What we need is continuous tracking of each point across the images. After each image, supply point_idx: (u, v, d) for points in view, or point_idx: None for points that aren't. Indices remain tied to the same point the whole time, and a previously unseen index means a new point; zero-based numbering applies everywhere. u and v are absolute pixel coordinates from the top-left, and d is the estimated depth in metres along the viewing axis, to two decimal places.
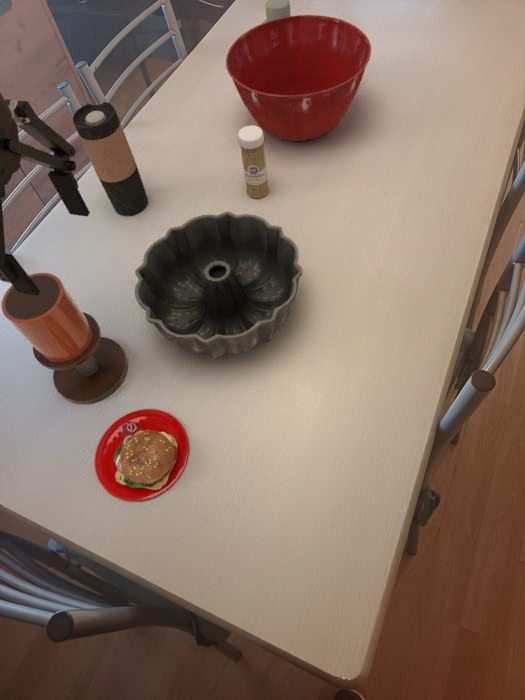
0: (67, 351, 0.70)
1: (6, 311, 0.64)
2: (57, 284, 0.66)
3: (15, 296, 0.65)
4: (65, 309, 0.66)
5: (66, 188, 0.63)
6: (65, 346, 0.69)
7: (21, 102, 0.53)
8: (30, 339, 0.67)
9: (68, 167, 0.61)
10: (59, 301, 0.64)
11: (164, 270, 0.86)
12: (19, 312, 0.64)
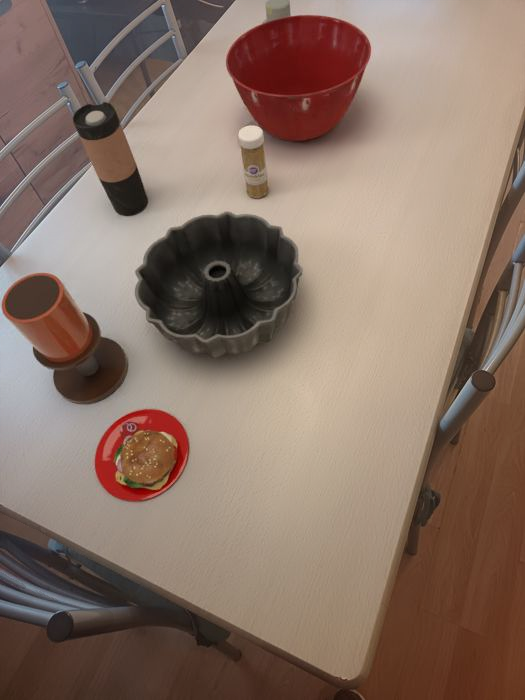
0: (67, 351, 0.70)
1: (6, 311, 0.64)
2: (57, 284, 0.66)
3: (15, 296, 0.65)
4: (65, 309, 0.66)
5: None
6: (65, 346, 0.69)
7: None
8: (30, 339, 0.67)
9: None
10: (59, 301, 0.64)
11: (164, 270, 0.86)
12: (19, 312, 0.64)
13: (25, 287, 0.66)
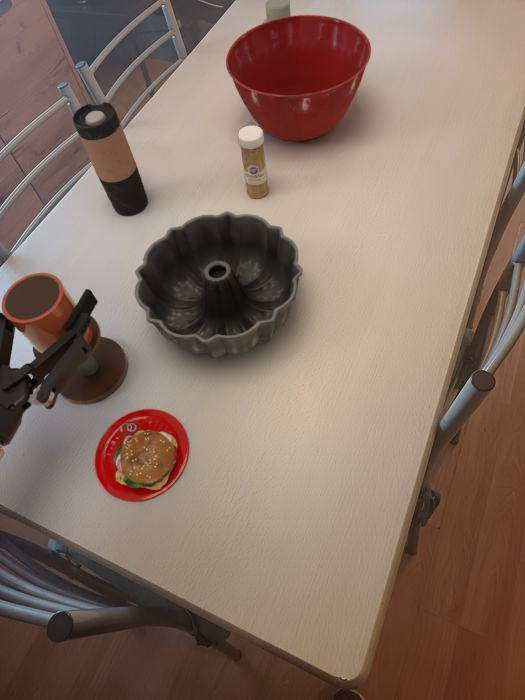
0: None
1: (6, 311, 0.64)
2: (57, 284, 0.66)
3: (15, 296, 0.65)
4: (65, 309, 0.66)
5: None
6: None
7: None
8: (30, 339, 0.67)
9: (2, 318, 0.68)
10: (59, 301, 0.64)
11: (164, 270, 0.86)
12: (19, 312, 0.64)
13: (25, 287, 0.66)
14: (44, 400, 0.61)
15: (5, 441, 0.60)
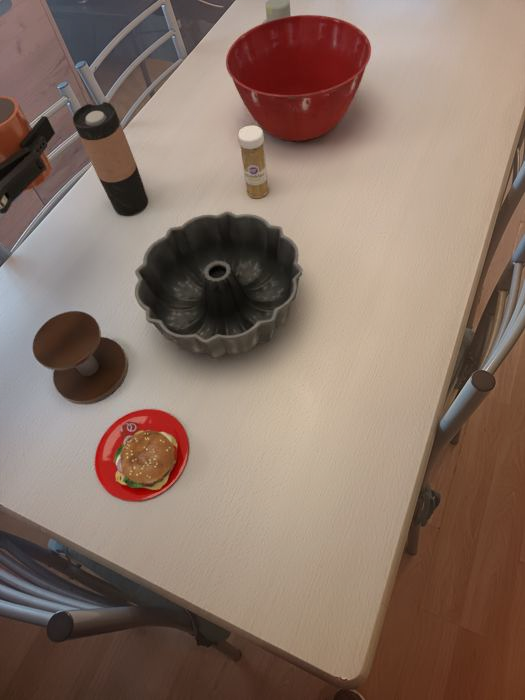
0: None
1: None
2: (12, 103, 0.69)
3: None
4: (20, 127, 0.69)
5: None
6: None
7: None
8: None
9: None
10: (14, 116, 0.67)
11: (164, 270, 0.86)
12: None
13: None
14: None
15: None
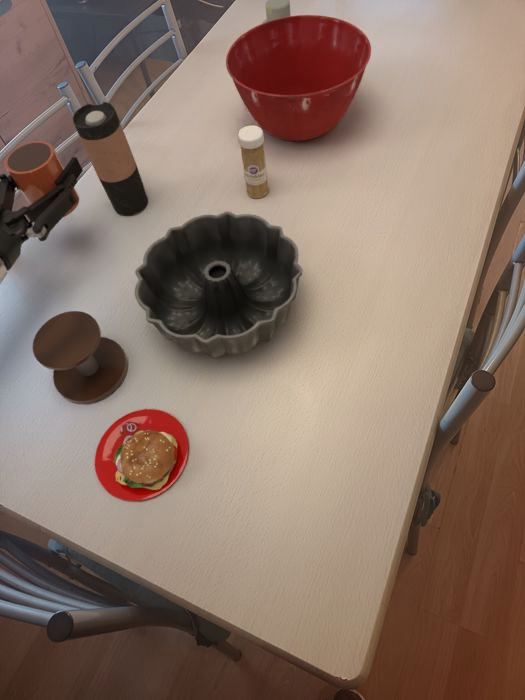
0: None
1: (8, 167, 0.80)
2: (49, 148, 0.82)
3: (15, 157, 0.82)
4: (55, 167, 0.82)
5: None
6: None
7: None
8: (28, 193, 0.83)
9: (5, 179, 0.84)
10: (51, 159, 0.80)
11: (164, 270, 0.86)
12: (18, 167, 0.80)
13: (23, 151, 0.82)
14: (38, 230, 0.77)
15: (7, 261, 0.76)
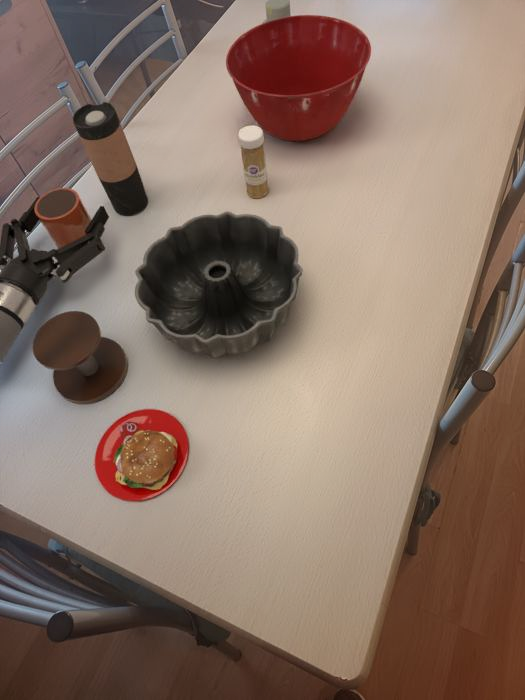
0: None
1: (38, 212, 0.89)
2: (74, 195, 0.90)
3: (44, 203, 0.90)
4: (80, 213, 0.90)
5: (30, 218, 0.93)
6: None
7: None
8: (55, 236, 0.91)
9: (16, 223, 0.91)
10: (76, 206, 0.89)
11: (164, 270, 0.86)
12: (47, 213, 0.88)
13: (51, 197, 0.91)
14: (60, 274, 0.84)
15: (36, 298, 0.84)
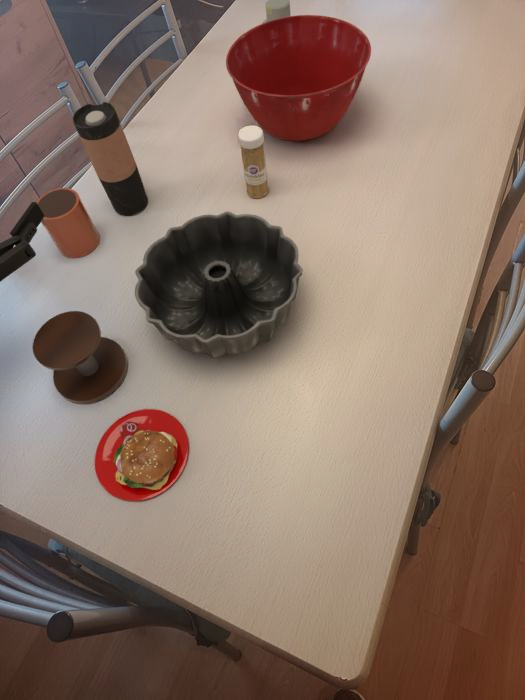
0: (81, 248, 0.94)
1: None
2: (74, 195, 0.90)
3: (44, 203, 0.90)
4: (80, 213, 0.90)
5: None
6: (80, 244, 0.93)
7: None
8: (55, 236, 0.91)
9: None
10: (76, 206, 0.89)
11: (164, 270, 0.86)
12: (47, 213, 0.88)
13: (51, 197, 0.91)
14: None
15: None
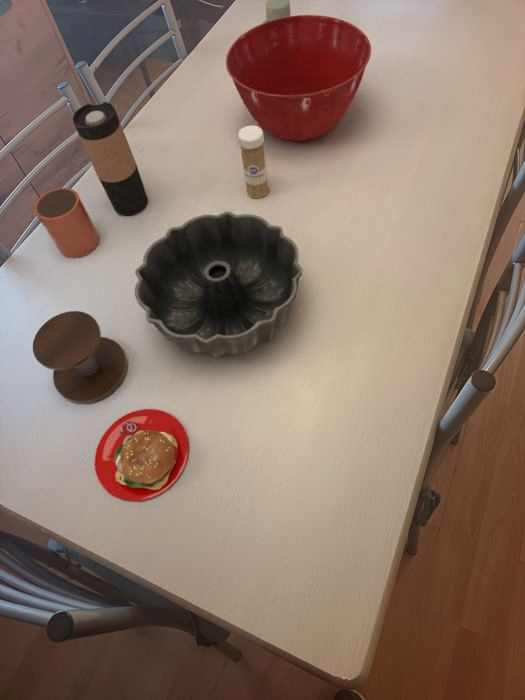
0: (81, 248, 0.94)
1: (38, 212, 0.89)
2: (74, 195, 0.90)
3: (44, 203, 0.90)
4: (80, 213, 0.90)
5: None
6: (80, 244, 0.93)
7: None
8: (55, 236, 0.91)
9: None
10: (76, 206, 0.89)
11: (164, 270, 0.86)
12: (47, 213, 0.88)
13: (51, 197, 0.91)
14: None
15: None
